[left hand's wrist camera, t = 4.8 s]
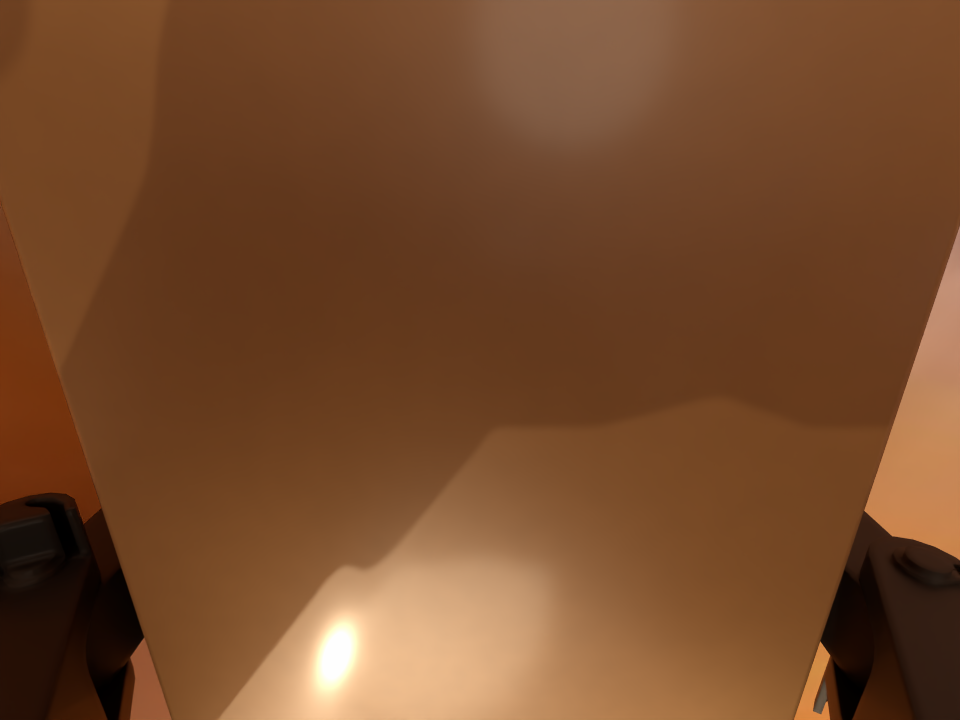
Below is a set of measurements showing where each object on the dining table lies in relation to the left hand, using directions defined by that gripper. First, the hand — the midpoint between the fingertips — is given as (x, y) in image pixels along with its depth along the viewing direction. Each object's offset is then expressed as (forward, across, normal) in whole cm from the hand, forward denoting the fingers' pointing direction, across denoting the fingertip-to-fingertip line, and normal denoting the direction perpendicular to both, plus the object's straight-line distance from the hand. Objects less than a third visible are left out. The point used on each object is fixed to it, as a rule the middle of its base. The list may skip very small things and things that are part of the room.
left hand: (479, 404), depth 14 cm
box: (+2, 0, -10) cm, 10 cm away
